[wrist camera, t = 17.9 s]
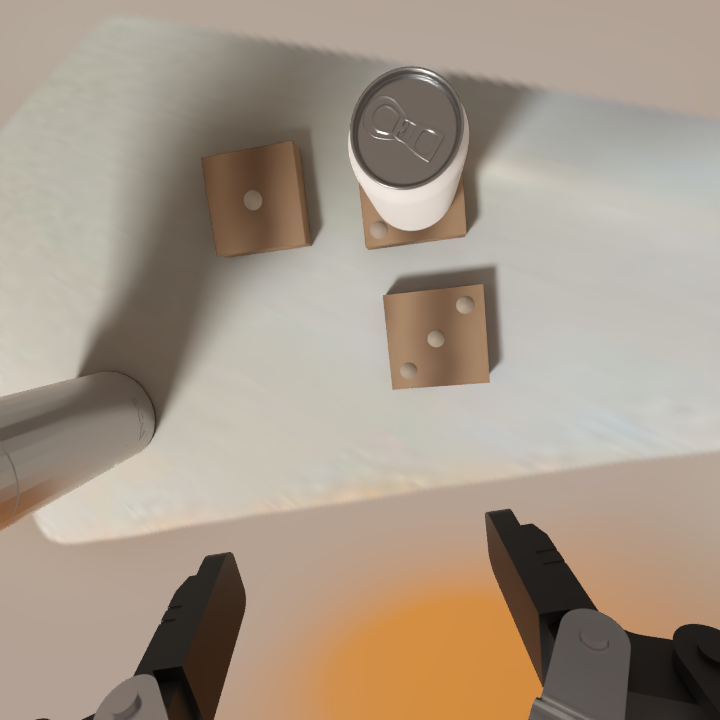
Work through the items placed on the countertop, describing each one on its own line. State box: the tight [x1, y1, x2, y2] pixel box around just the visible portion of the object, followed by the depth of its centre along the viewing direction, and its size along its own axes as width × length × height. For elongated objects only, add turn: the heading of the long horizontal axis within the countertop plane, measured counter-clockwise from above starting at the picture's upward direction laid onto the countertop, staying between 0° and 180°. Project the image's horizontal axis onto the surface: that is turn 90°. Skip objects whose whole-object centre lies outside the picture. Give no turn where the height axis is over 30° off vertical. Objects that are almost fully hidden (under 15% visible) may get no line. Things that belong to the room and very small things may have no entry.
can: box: [348, 67, 469, 231], centre depth 26 cm, size 6×6×12 cm
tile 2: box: [359, 173, 467, 250], centre depth 32 cm, size 8×8×2 cm
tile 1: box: [201, 141, 312, 257], centre depth 35 cm, size 8×8×2 cm
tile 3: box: [383, 284, 490, 389], centre depth 34 cm, size 8×8×2 cm
